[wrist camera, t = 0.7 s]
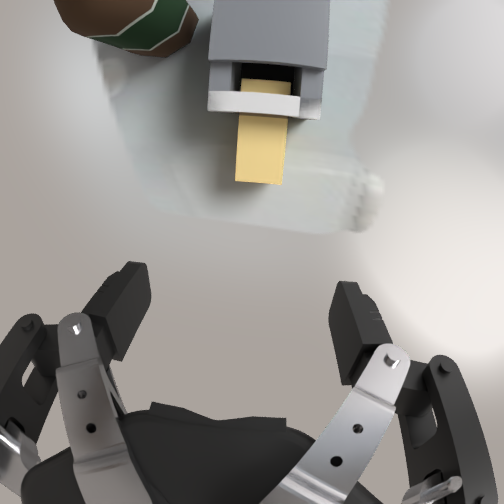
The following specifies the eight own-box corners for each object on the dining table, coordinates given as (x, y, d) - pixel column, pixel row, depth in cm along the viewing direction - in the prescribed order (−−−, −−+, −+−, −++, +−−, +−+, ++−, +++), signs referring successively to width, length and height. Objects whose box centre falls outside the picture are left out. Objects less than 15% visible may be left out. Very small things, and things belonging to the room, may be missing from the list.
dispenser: (230, 9, 19) (217, -24, 12) (314, 15, 19) (329, -16, 12) (221, 112, 25) (204, 110, 18) (306, 119, 25) (322, 119, 18)
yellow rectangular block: (245, 84, 23) (241, 78, 19) (287, 88, 23) (291, 82, 19) (239, 171, 27) (235, 181, 23) (279, 174, 27) (281, 184, 23)
